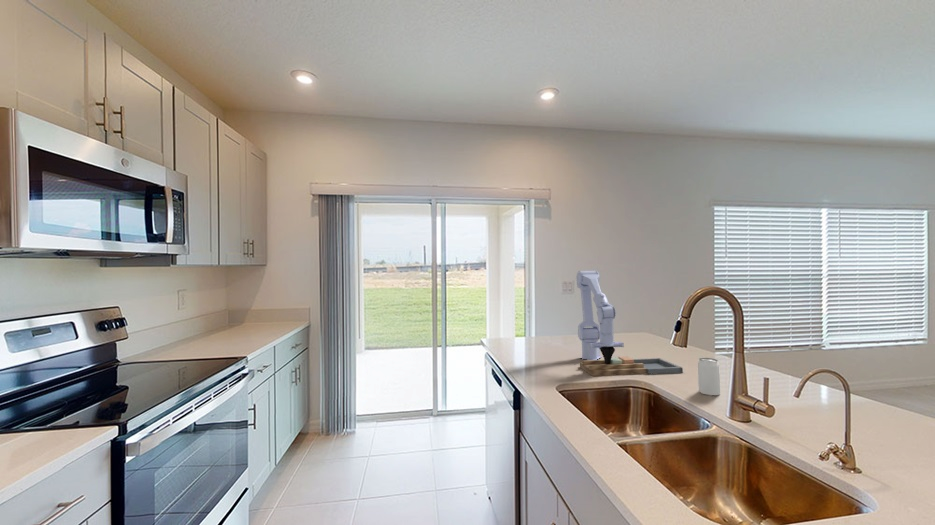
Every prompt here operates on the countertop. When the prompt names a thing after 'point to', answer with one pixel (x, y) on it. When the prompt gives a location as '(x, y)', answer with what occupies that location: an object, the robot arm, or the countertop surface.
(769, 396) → the countertop surface
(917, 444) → the countertop surface
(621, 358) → the salmon pink block
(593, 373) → the brown wooden rack
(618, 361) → the pale green upright block
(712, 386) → the can
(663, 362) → the tray
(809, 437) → the countertop surface
